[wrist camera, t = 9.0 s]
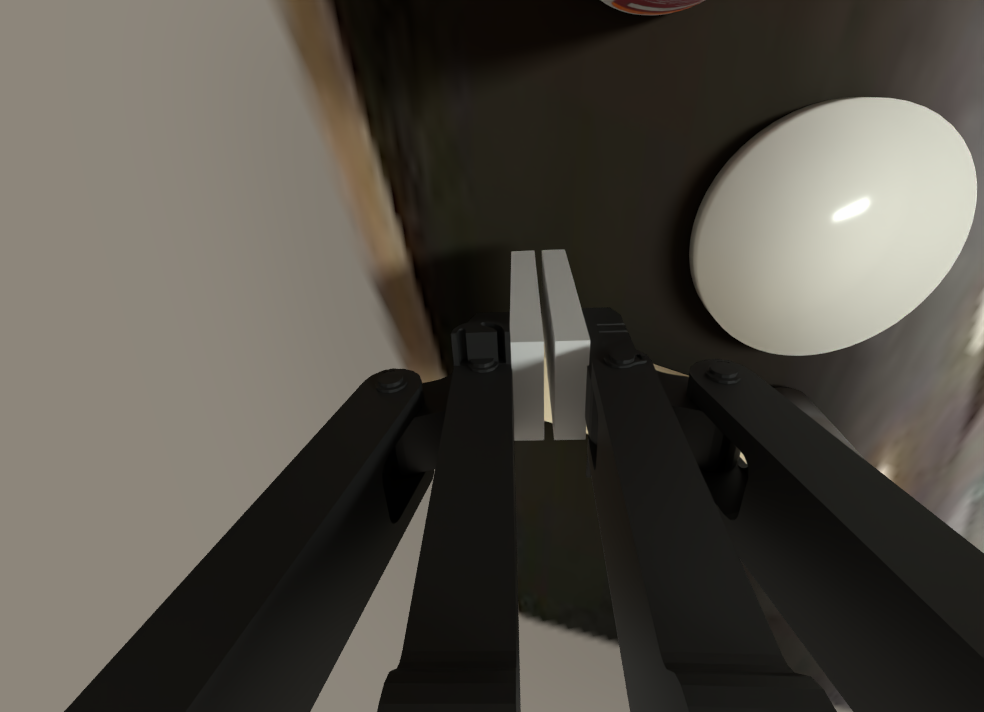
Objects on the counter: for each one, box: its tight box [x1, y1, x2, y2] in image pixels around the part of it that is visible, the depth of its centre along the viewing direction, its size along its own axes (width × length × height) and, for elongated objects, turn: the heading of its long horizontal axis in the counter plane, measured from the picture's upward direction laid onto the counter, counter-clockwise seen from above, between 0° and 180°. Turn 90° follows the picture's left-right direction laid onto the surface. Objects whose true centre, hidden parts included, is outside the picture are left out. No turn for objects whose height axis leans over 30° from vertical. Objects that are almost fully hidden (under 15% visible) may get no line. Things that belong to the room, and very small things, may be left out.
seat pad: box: [689, 97, 977, 356], centre depth 18 cm, size 9×9×1 cm
